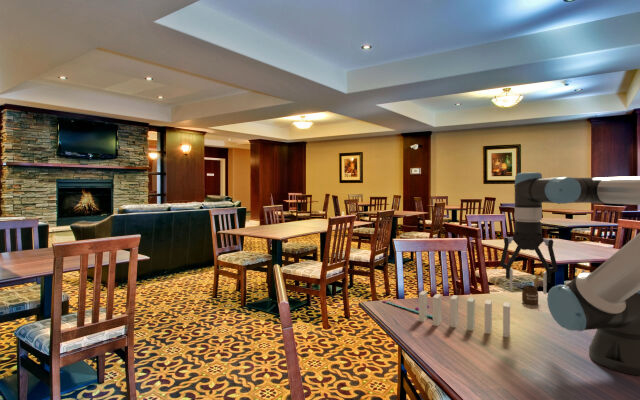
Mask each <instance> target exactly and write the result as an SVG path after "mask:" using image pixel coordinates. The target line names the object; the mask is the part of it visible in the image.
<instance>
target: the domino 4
mask: <svg viewBox="0 0 640 400" xmlns="http://www.w3.org/2000/svg"><path fill="white" fill-rule="evenodd" d="M475 299H476V298H475V297H470V296H469V297H468V298H467V301H466V303H467V304H466V305H467V306H466V315H467V316H466V330H467V331H474V328H475V321H476V320H475V316H476V315H475V310H476V309H475V308H476V307H475V306H476V305H475V304H476V302H475V301H476V300H475Z"/></svg>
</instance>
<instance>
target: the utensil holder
mask: <svg viewBox="0 0 640 400" xmlns="http://www.w3.org/2000/svg"><path fill="white" fill-rule="evenodd" d="M539 277H540V275H538V274H536V275H535V278H534V285H531V284H525V283H526V281H527V282H529V279H528V278H527V276H525V277H523V279H525V280H523V282H522V283H523V286H522V288H523V289H522V291H521V293H522V294H521V301H522V303H523V304H524V305H525V304H526V305H530V306H531V305H532V306H533V305H534V306H537V305H539V292H538V287H537V284H538V281H539Z"/></svg>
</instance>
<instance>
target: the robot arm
mask: <svg viewBox="0 0 640 400" xmlns="http://www.w3.org/2000/svg"><path fill="white" fill-rule="evenodd" d="M514 177H515V178H514V220H515V221H514V233H513V234H514V235H513V236H510V237H509V236H504V238H503V242H504V243H503V244H504V245H503V246H504V247H503V251H502V255H501V258H500V262H499V267H501V268H504V269H505V279H507V280H509V291H513V282H514V279H513V278H514V275H513V274H514V273H513V271H514V270H513V268H511V267H512V265H513V263H514V262H515V260H516V259H517V257H518V255H519V253H520V251H521V250H523V251H525V250H526V251H527V250H529V251H534V252H535V253H536V255H537V257H538V258H539V261H540V262H541V264H542V266H543V267H544V269H545V270H544V271H543V273H542V274H543V276H542V277H543V285H542V286H543V294H545V295H547V298H546V300H547V307H548V309H549V310H548V311H549V313H550V315H551V316H552V318H553V320H554V321H555V322H556V323H557V324H558V326H560V327H561V328H564V329H566V330H568V331H572V332H573V331H577V332H583V331H588V330H589V331H590V330H596V331H595V333H594V335H593V338H592V339H591V342H590V344H589V346H588V357H589V358H590V359H591V360H592V361H594V362H595V363H597V364H599V365H600V366H602V367H605V368H608V369H610V370H612V371H616V372H620V373H624V374H627V375H632V376H633V375H634V376H640V232H638V233H637V234H636V235H635V236H634V237H632V239H630V240H628V242H627V243H625V244H624V245H623V246H622V247H620V249H618V250H617V251H616V252H615V253H613V255H611V256H610V257H609V258H608V259H606V260H605V261H604V262H602V263H601V264H600V265H599V266H598V267H597V268H595V270H593V271H591V272H589V271H588V272H581V273H579V274H578V275H576V276H575V278H573V279H572V280H571V281H570V282H568V283H567V284H557V285H554V286H552V287H551V288H550V289H549V290H548V292H547V285H548V284H551V282H552V273H555V272H558V270H559V269H558V264H557V260H556V256H555V252H554V247H553V246H554V240H553V239H552V238H544V237H543V236H542V234H543V231H542V230H543V228H542V227H543V222H541V220H543V215H542V214H543V212H542V211H543V205H542V204H543V203H544V204H558V205H561V204H563V205H564V204H582V203H583V204H587V203H588V204H613V205H614V204H615V205H634V206H635V205H636V206H640V176H637V175H636V176H635V175H633V176H608V177H607V176H605V177H604V176H601V177H600V176H599V177H598V176H597V177H596V176H595V177H571V176H556V177H545V178H543V174H542V173H541V172H537V171H536V172H519V173H517V174H516V175H515V176H514ZM512 241H513V242H514V243H515V244H516V247H515V249H514V252H513V253H512V255H511V256H510V258H509V260H508V262H507V263H505V262H506V259H507V254H508V250H509V246H510V244H512ZM542 243H544V245H545V246H546V247H547V250H548V254H549V259H550V262H551V266H552V267H550V266H549V263H548V262H547V260H546V259H545V257H544V255H543V253H542V251H541V249H540V248H539V247H540V246H541V245H542Z"/></svg>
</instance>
